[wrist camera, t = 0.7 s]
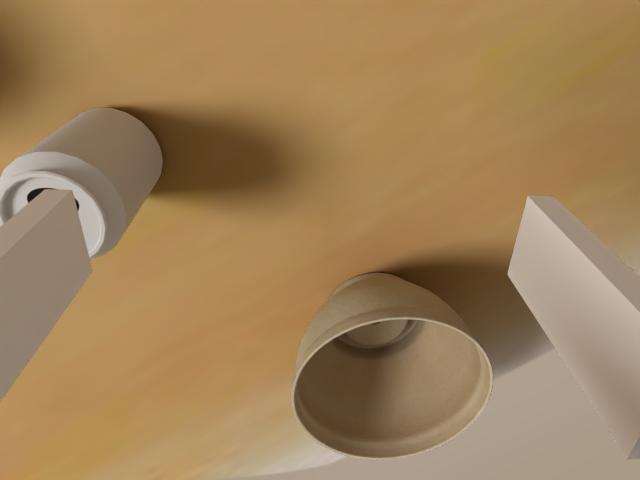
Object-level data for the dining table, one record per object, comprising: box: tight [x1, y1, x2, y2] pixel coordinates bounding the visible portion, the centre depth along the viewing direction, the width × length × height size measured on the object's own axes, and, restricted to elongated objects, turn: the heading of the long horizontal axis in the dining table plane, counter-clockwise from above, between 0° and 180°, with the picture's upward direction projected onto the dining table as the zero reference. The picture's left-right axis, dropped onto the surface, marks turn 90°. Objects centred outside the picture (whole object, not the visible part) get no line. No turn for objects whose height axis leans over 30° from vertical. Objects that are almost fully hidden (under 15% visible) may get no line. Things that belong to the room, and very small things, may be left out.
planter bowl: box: [291, 273, 493, 460], centre depth 43 cm, size 16×16×11 cm
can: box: [0, 108, 163, 259], centre depth 33 cm, size 8×8×12 cm
